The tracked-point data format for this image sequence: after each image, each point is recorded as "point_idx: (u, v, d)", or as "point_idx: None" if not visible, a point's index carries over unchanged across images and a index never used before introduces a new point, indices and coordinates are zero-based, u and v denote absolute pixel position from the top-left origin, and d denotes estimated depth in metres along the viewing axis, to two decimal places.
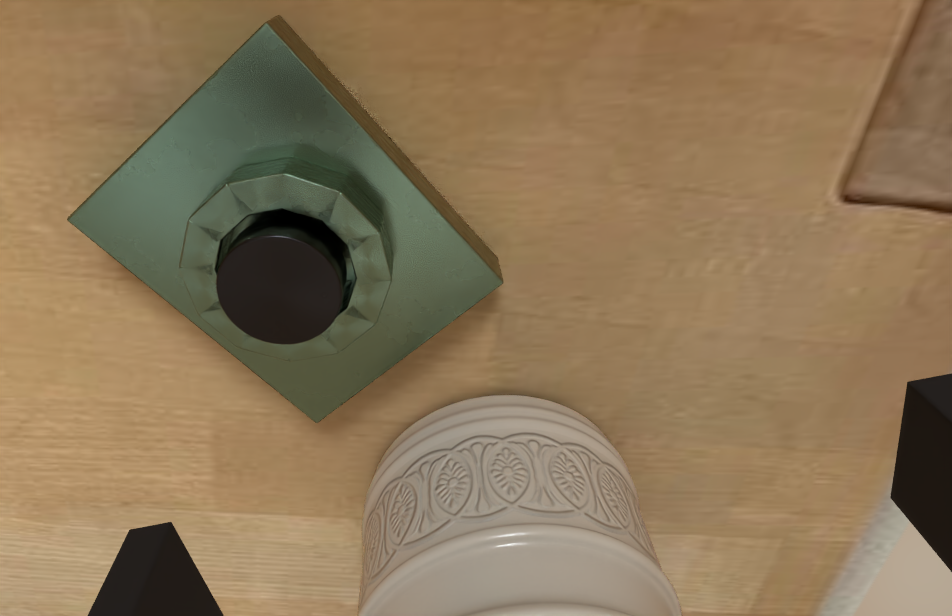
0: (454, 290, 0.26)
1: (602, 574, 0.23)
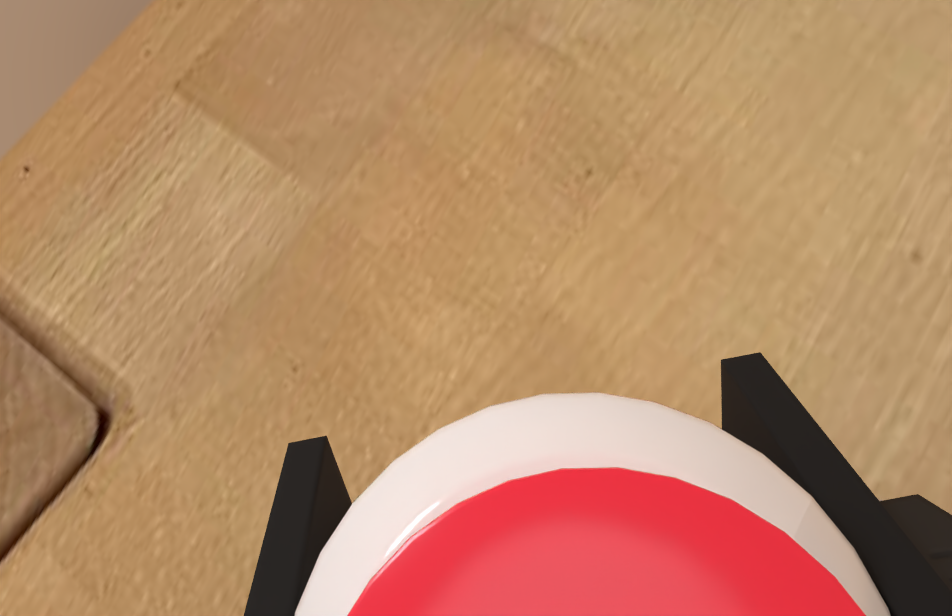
0: None
1: None
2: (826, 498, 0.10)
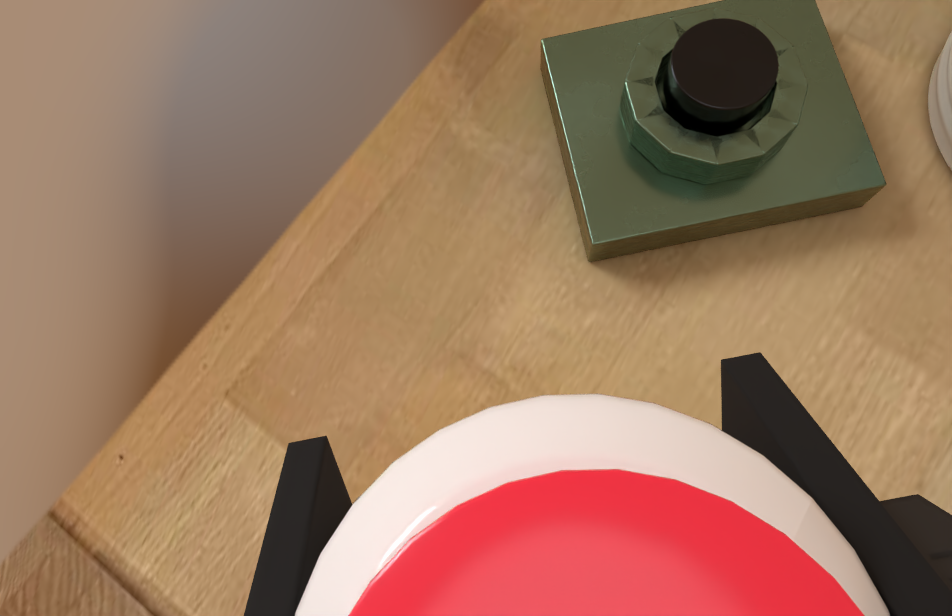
0: (796, 16, 0.30)
1: None
2: (826, 498, 0.10)
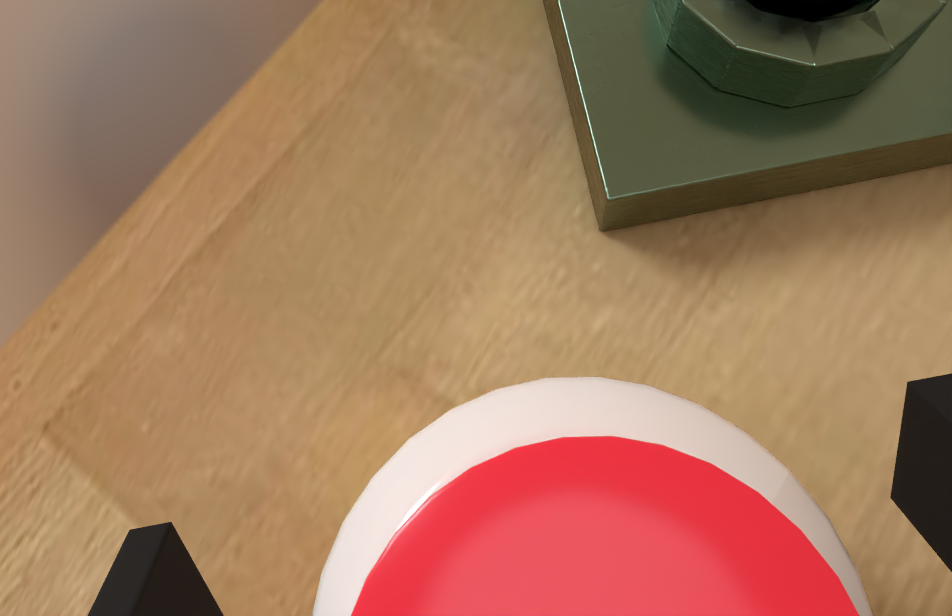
0: None
1: None
2: None
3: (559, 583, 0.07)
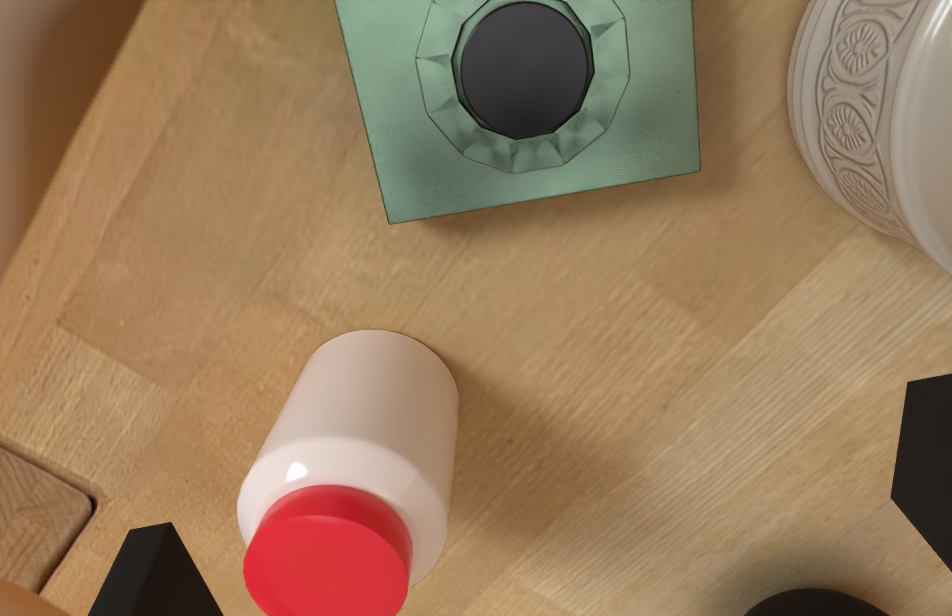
0: None
1: None
2: None
3: (309, 552, 0.22)
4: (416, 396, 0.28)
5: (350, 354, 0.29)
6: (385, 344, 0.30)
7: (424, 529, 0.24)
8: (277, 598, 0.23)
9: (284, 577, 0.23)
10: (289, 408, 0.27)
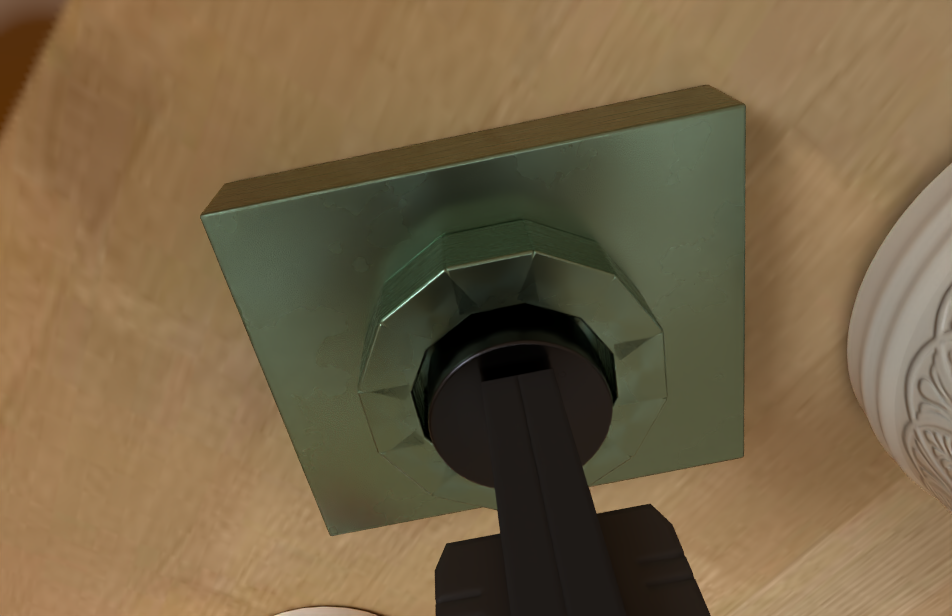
0: (701, 185, 0.15)
1: None
2: (552, 508, 0.11)
3: None
4: None
5: None
6: None
7: None
8: None
9: None
10: None
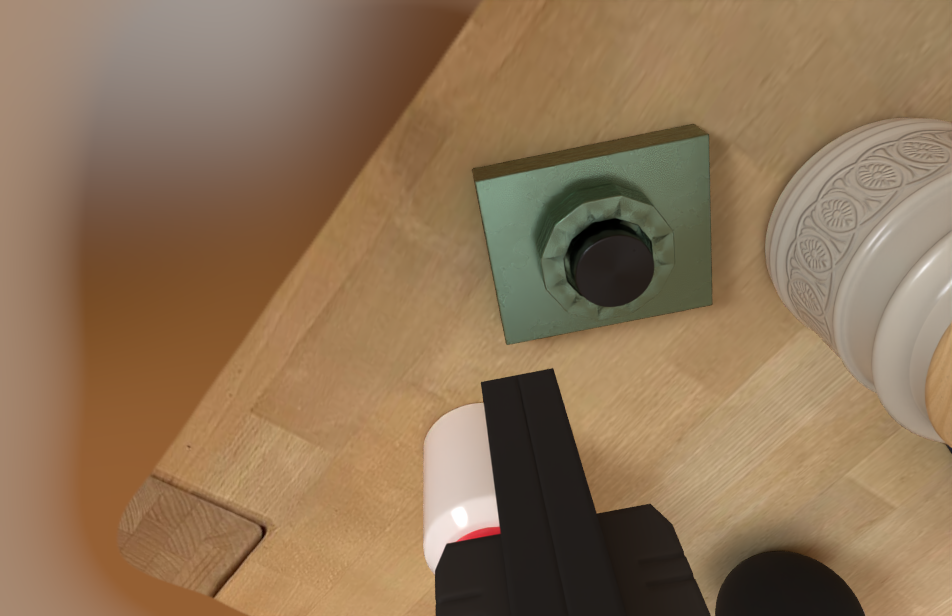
0: (690, 169, 0.35)
1: (951, 204, 0.29)
2: (552, 508, 0.11)
3: None
4: None
5: (475, 426, 0.42)
6: None
7: None
8: None
9: None
10: (445, 471, 0.40)
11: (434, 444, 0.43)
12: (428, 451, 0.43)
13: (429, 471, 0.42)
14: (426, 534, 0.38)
